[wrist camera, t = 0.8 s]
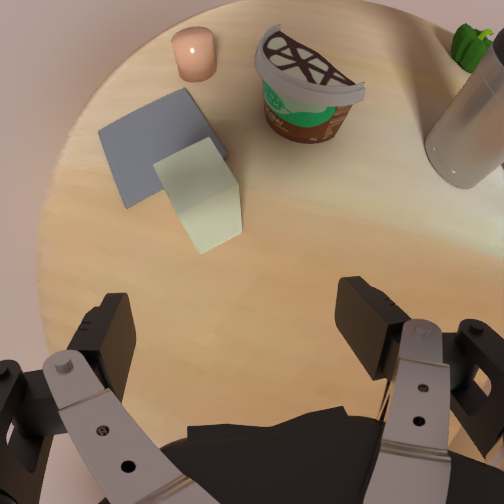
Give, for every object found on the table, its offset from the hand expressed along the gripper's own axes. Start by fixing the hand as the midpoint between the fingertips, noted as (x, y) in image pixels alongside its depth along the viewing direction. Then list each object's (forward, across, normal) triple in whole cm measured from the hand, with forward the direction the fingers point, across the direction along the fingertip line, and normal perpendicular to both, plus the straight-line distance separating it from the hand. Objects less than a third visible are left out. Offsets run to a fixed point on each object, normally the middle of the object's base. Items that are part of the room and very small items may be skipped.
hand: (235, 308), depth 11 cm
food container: (+26, -9, -8) cm, 28 cm away
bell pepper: (+32, -46, -24) cm, 61 cm away
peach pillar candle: (+33, +2, -16) cm, 37 cm away
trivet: (+26, +6, -6) cm, 28 cm away
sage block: (+20, 0, +2) cm, 20 cm away
